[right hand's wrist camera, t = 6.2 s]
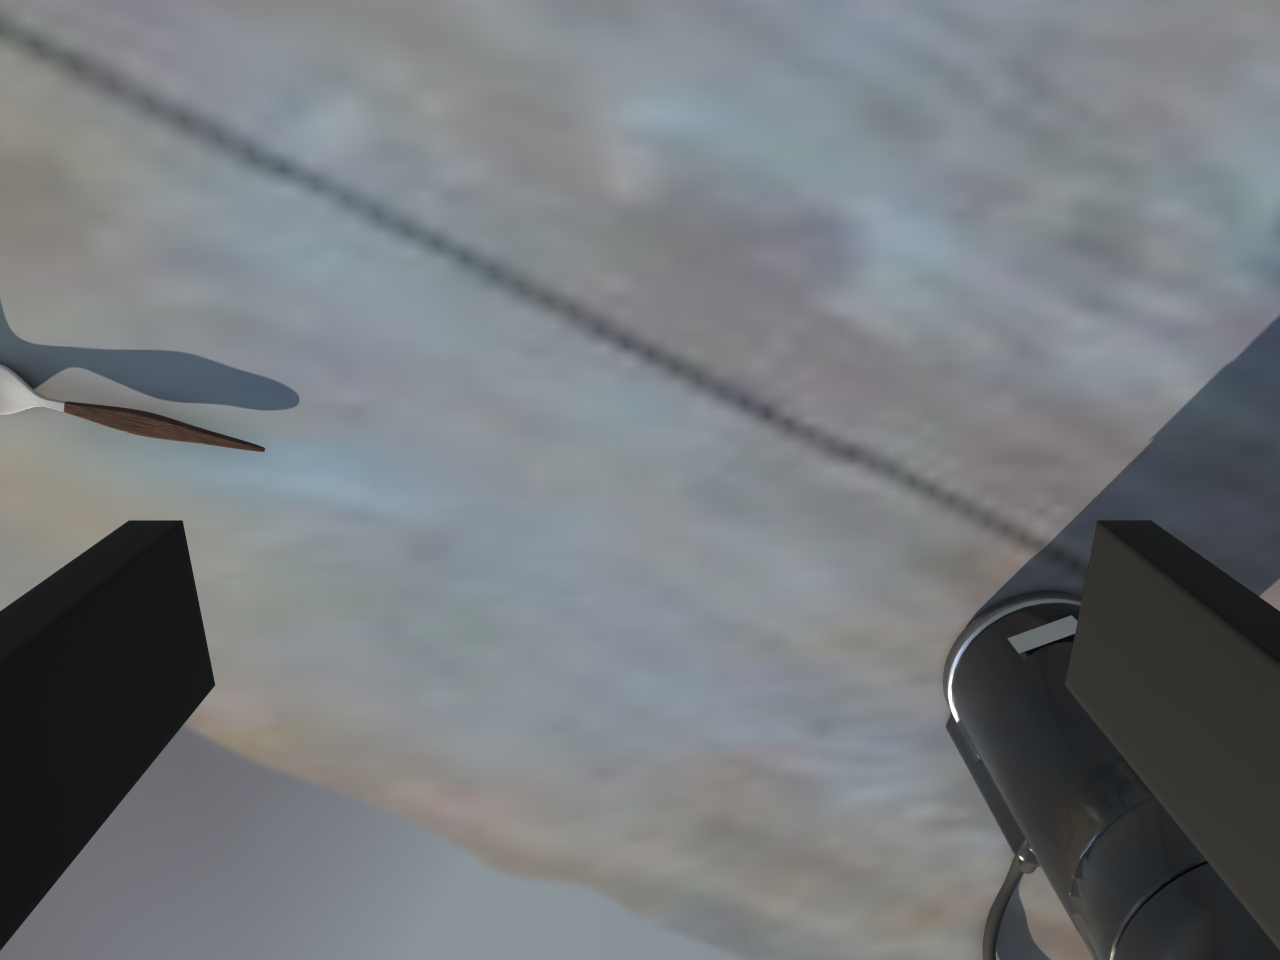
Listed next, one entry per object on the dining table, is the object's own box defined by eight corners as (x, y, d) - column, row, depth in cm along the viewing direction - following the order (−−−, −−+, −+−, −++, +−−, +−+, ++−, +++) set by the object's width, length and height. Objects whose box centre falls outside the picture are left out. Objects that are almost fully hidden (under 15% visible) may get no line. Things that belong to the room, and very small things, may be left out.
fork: (266, 472, 42) (249, 486, 40) (-80, 397, 40) (-115, 409, 38) (271, 420, 41) (253, 433, 39) (-83, 343, 39) (-119, 352, 37)
